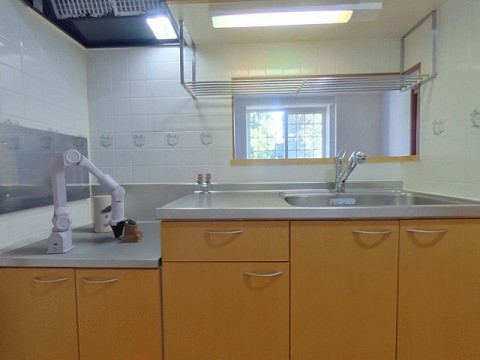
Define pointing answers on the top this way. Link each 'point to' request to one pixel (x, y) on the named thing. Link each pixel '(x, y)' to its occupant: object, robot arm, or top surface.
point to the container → (102, 213)
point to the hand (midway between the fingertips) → (118, 236)
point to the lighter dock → (132, 238)
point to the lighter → (130, 228)
